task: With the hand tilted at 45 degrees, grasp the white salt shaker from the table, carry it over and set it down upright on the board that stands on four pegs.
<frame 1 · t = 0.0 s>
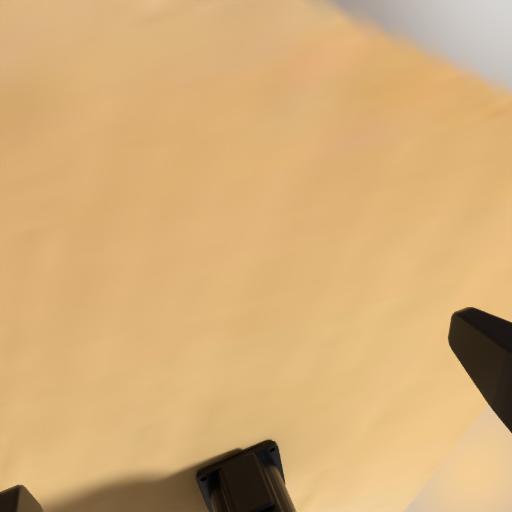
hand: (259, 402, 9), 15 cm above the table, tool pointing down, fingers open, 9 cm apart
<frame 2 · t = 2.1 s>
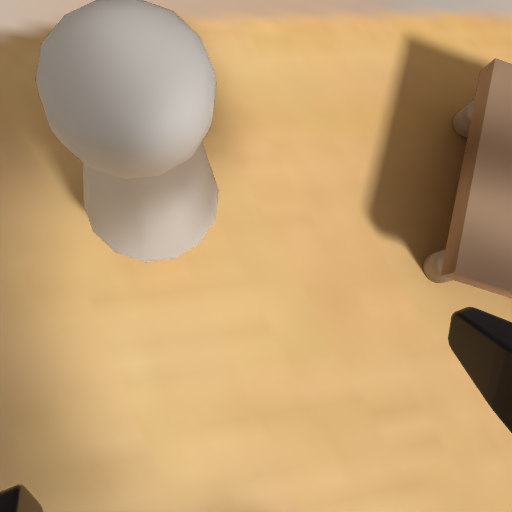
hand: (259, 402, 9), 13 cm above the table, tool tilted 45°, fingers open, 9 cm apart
salt shaker: (155, 212, 24), on the table
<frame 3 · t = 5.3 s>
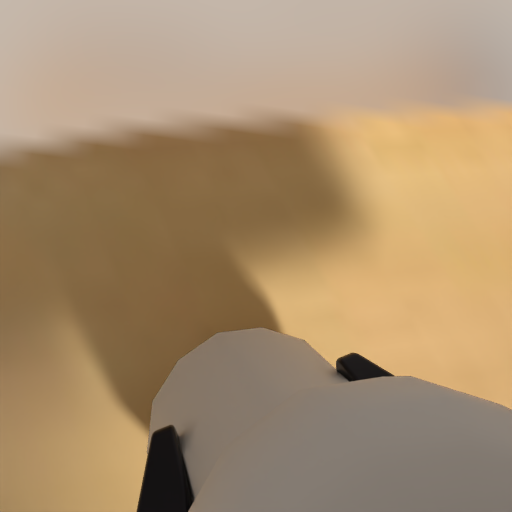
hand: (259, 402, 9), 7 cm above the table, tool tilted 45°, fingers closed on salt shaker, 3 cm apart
salt shaker: (242, 418, 16), on the table, touching gripper
when the fingers open (12 cm above the table, at t = 8.5 s): salt shaker drops 1 cm, resting on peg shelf.
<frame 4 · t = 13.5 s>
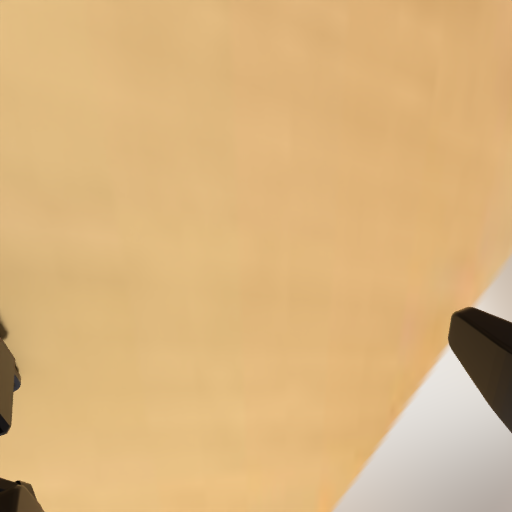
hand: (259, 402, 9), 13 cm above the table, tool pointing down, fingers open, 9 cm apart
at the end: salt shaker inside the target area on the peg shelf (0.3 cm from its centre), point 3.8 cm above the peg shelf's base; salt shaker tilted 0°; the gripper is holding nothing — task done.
